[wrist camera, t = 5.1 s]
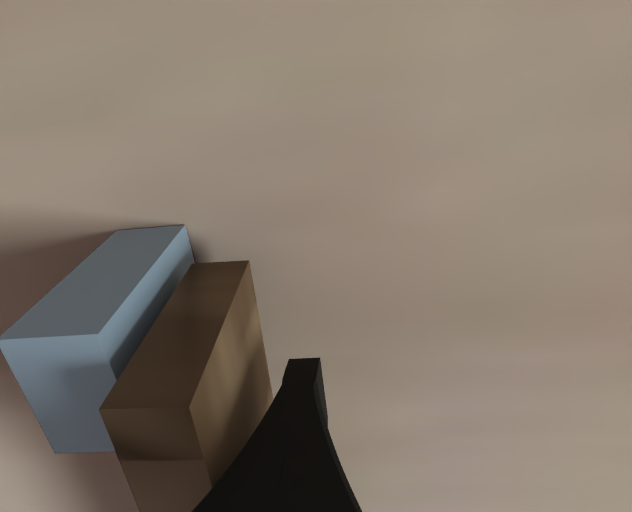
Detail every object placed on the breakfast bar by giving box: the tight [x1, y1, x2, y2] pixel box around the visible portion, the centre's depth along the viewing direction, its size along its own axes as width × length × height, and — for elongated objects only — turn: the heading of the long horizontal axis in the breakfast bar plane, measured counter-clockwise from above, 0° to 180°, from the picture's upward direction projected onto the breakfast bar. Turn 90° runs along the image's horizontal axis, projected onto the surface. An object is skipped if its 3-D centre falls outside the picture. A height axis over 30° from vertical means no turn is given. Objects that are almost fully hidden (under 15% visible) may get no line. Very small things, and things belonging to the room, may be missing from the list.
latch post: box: [0, 225, 195, 453], centre depth 11 cm, size 3×2×5 cm, turn 6°
